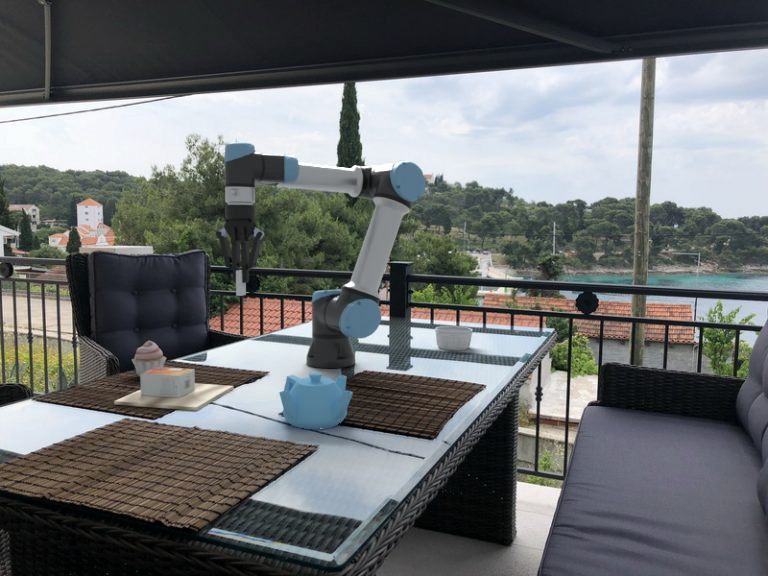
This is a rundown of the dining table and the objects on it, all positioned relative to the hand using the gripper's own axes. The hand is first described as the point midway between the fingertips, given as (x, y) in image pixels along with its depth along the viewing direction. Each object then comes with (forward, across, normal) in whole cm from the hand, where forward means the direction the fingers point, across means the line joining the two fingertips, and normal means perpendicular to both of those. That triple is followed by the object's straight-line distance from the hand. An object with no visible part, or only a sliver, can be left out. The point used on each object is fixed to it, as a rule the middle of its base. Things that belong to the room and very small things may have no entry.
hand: (241, 295), depth 165 cm
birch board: (+24, -12, -13) cm, 30 cm away
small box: (+21, -8, -13) cm, 26 cm away
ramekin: (+25, +50, +69) cm, 89 cm away
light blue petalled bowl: (+25, +28, -24) cm, 44 cm away
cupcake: (+25, -30, +5) cm, 39 cm away
